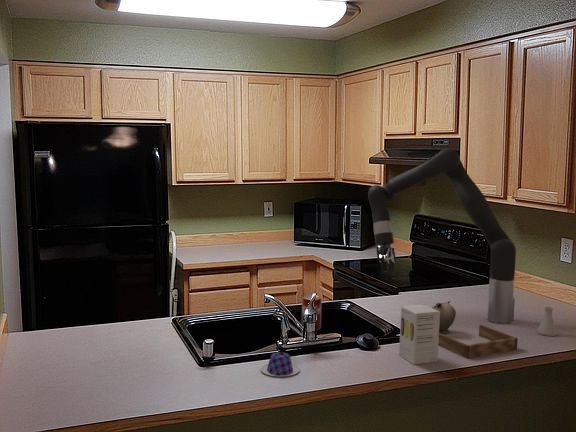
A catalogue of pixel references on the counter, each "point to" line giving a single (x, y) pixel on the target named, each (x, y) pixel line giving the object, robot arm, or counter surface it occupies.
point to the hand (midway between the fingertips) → (388, 272)
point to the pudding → (280, 365)
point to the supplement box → (419, 334)
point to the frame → (496, 345)
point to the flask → (547, 324)
